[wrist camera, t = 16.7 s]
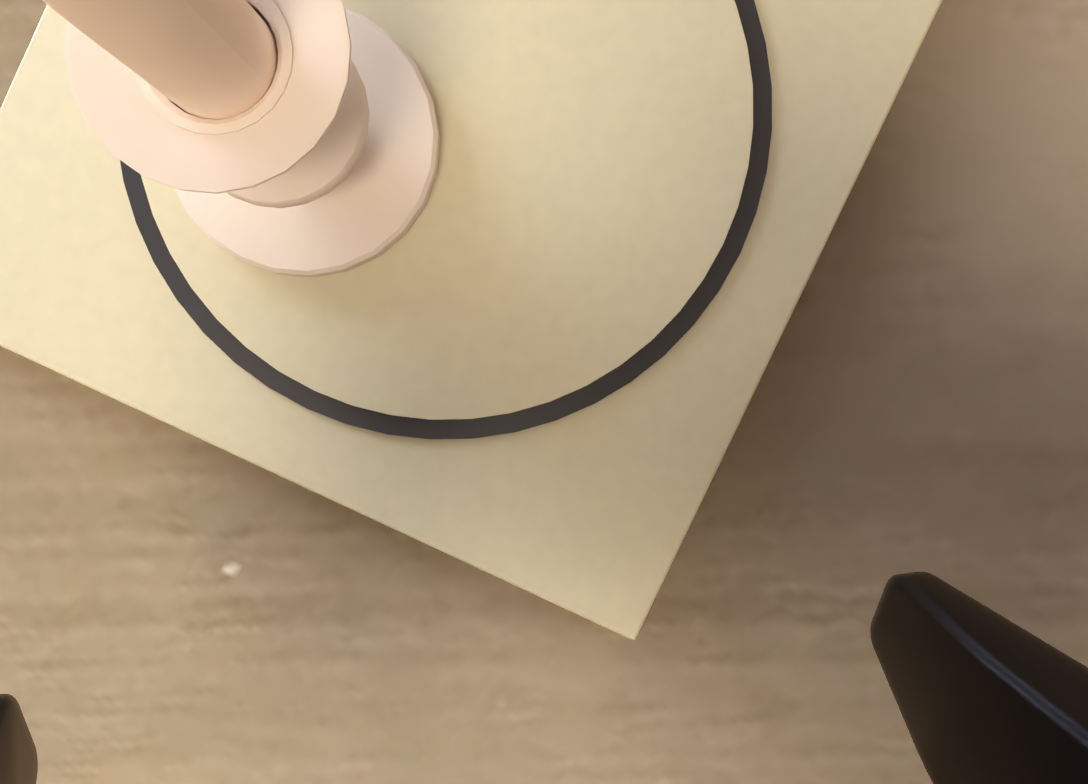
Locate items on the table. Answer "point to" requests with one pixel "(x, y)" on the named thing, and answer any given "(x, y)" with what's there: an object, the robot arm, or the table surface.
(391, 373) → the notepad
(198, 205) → the candle
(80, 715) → the table surface
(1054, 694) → the robot arm
